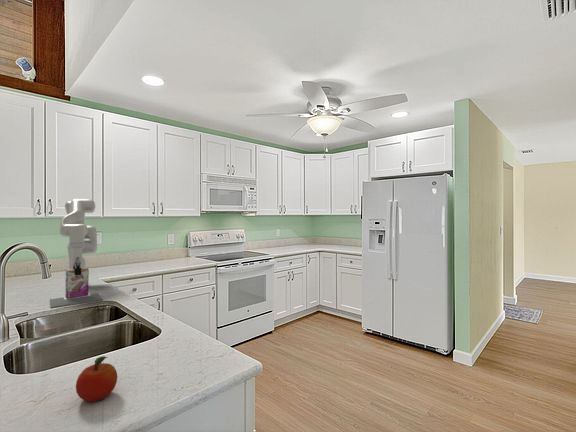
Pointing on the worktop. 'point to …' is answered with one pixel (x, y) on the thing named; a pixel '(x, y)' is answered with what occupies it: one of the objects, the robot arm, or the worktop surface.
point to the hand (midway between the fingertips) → (77, 273)
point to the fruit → (96, 381)
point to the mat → (74, 300)
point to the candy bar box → (76, 283)
